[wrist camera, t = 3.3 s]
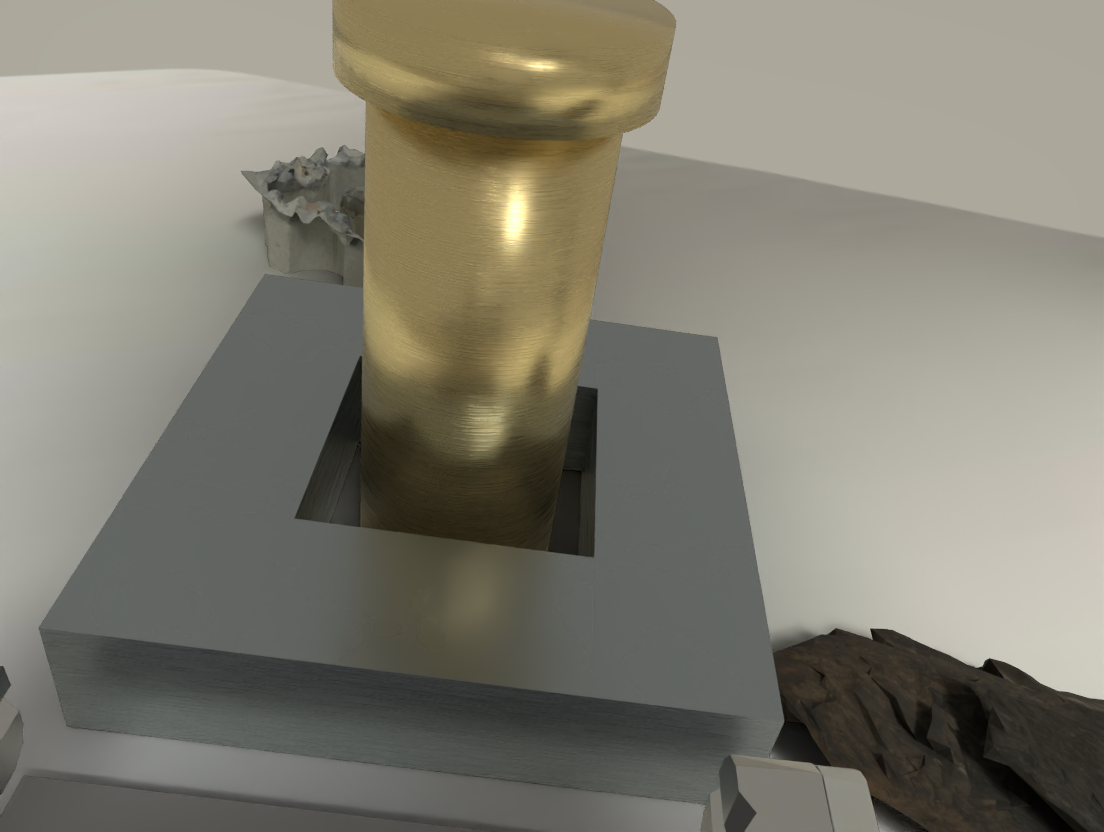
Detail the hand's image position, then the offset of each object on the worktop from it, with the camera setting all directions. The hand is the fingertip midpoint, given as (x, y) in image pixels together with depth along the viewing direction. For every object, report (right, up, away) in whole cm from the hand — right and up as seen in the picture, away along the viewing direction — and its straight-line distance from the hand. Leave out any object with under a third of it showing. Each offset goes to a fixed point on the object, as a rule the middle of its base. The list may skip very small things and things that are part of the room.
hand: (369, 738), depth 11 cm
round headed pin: (0, +1, +14) cm, 14 cm away
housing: (0, +1, +14) cm, 14 cm away
